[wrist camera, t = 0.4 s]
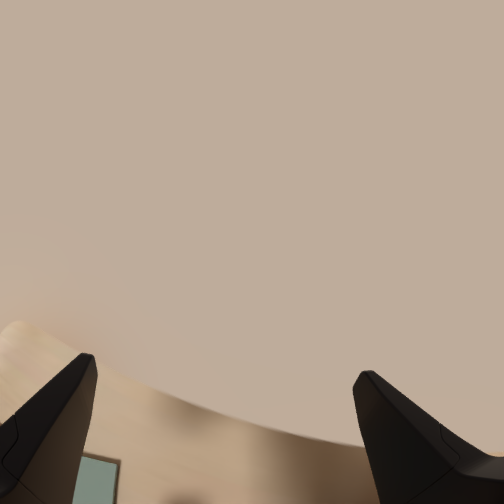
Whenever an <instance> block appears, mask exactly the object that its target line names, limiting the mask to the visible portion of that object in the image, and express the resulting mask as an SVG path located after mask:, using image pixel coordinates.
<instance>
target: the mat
mask: <svg viewBox="0 0 504 504" xmlns="http://www.w3.org/2000/svg"><path fill="white" fill-rule="evenodd" d="M117 470H118V465H117V464H113V463H108V462H104V461H99V460H95V459H91V458H87V457H83V456H82V458H81V462H80V467H79V471H78V476H77V481H76V486H75V492H74V497H73V503H72V504H114V497H115V487H116V478H117Z"/></svg>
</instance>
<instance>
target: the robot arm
mask: <svg viewBox="0 0 504 504" xmlns="http://www.w3.org/2000/svg"><path fill="white" fill-rule="evenodd" d="M97 377H98V373H97V367H96V362H95V358H94V356H93V355H92V354H87V353H81V354H79V355H78V356H77V357H76V358H75V359H74V360H73V361H71V362H70V363H69V364H68V365H67V366H66V367H65V368H64V369H62V370H61V371H60V372H59V373H58V374H57V375H56V376H55V377H53V378H52V379H51V380H50V381H49V382H48V383H47V384H46V385H45V386H44V387H42V388H41V389H40V390H39V391H38V392H37V393H36V394H35V395H34V396H33V397H31V398H30V399H29V400H28V401H27V402H26V403H25V404H24V405H23V406H22V407H21V408H20V409H18V410H17V411H16V412H15V415H12V416H11V417H10V418H9V419H8V420H7V421H5V422H4V423H3V424H2V425H1V426H0V504H72V503H73V497H74V492H75V486H76V481H77V476H78V471H79V467H80V462H81V458H82V453H83V449H84V445H85V441H86V437H87V433H88V429H89V425H90V421H91V416H92V409H93V402H94V396H95V389H96V383H97ZM353 396H354V401H355V407H356V413H357V418H358V423H359V428H360V431H361V435H362V438H363V442H364V445H365V449H366V452H367V456H368V459H369V463H370V467H371V470H372V474H373V478H374V481H375V485H376V489H377V493H378V496H379V500H380V504H504V457H495V456H491V455H488V454H486V453H484V452H482V451H481V450H479V449H477V448H476V447H474V446H473V445H471V444H469V443H468V442H466V441H464V440H463V439H461V438H460V437H458V436H457V435H456V434H454V433H453V432H451V431H450V430H449V429H447V428H446V427H444V426H443V425H442V424H441V423H440V424H439V422H438V421H437V420H436V419H434V418H433V417H431V416H430V415H429V414H428V413H427V412H425V411H424V410H423V409H421V408H420V407H419V406H417V405H416V404H415V403H414V402H412V401H411V400H410V399H409V398H407V397H406V396H405V395H403V394H402V393H401V392H399V391H398V390H397V389H396V388H394V387H393V386H392V385H391V384H389V383H388V382H387V381H386V380H384V379H383V378H382V377H381V376H379V375H378V374H377V373H375V372H374V371H372V370H368V371H362V372H361V373H360V375H359V377H358V379H357V380H356V382H355V384H354V386H353Z"/></svg>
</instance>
